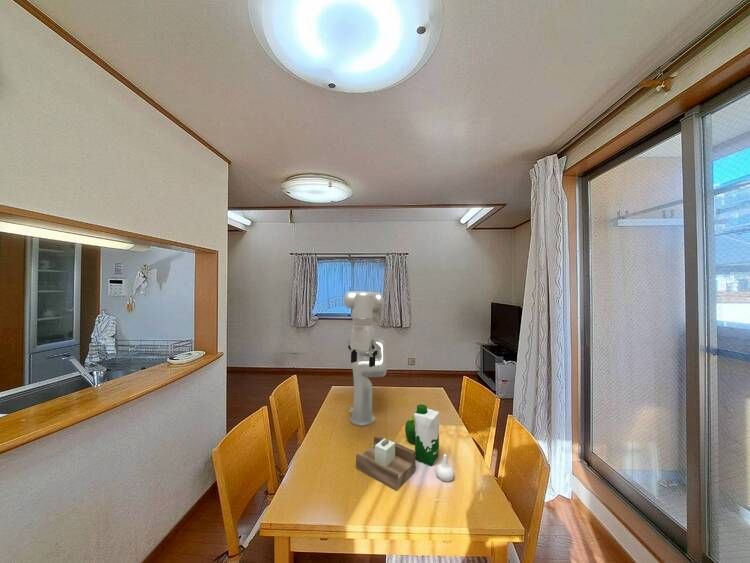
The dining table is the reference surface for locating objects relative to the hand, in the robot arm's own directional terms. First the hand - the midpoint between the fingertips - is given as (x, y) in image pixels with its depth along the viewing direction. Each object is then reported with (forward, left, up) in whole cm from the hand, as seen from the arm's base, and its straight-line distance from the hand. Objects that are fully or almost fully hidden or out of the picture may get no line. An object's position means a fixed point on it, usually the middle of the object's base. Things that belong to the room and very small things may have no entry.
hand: (362, 364), depth 111 cm
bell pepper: (+12, +22, -36) cm, 44 cm away
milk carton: (+22, +14, -36) cm, 45 cm away
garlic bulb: (+32, +9, -37) cm, 49 cm away
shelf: (+13, -1, -36) cm, 39 cm away
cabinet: (+13, -2, -33) cm, 35 cm away
